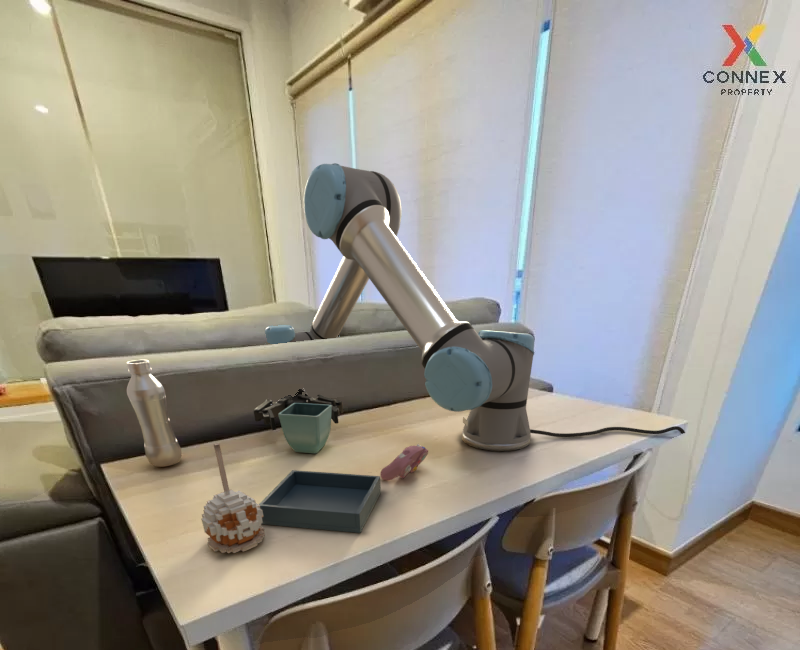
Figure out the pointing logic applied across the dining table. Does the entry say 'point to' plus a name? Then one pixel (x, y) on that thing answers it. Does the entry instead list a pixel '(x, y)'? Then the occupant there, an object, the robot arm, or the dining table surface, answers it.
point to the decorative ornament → (232, 517)
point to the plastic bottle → (152, 415)
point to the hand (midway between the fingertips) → (305, 420)
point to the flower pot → (306, 426)
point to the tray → (322, 501)
